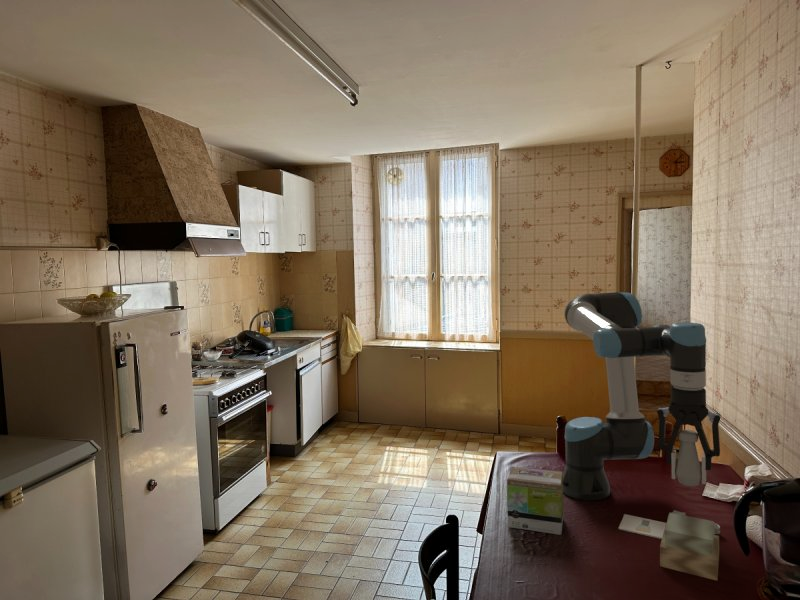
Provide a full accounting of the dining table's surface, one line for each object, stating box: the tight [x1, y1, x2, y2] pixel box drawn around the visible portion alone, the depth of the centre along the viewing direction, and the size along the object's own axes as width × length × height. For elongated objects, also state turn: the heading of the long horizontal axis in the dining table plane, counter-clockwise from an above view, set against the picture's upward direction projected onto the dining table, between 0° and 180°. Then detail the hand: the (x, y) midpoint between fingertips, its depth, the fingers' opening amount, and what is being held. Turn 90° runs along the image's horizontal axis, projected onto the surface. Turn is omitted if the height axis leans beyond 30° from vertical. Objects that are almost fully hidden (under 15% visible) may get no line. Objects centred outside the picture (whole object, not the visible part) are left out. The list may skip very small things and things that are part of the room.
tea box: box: [506, 466, 564, 536], centre depth 150 cm, size 15×10×15 cm, turn 70°
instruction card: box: [618, 513, 667, 540], centre depth 145 cm, size 12×9×1 cm
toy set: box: [671, 509, 721, 535], centre depth 143 cm, size 12×3×4 cm, turn 43°
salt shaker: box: [675, 429, 702, 487], centre depth 127 cm, size 6×6×13 cm
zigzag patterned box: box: [659, 512, 720, 581], centre depth 128 cm, size 12×12×9 cm
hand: (688, 479), depth 127 cm, fingers closed on salt shaker, 6 cm apart
